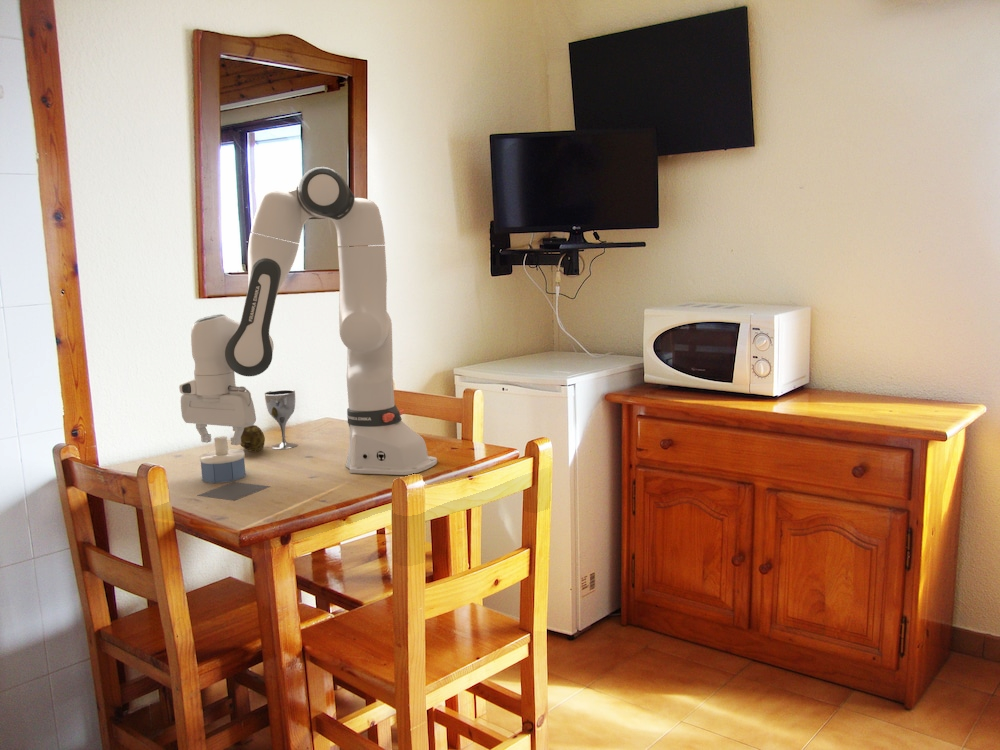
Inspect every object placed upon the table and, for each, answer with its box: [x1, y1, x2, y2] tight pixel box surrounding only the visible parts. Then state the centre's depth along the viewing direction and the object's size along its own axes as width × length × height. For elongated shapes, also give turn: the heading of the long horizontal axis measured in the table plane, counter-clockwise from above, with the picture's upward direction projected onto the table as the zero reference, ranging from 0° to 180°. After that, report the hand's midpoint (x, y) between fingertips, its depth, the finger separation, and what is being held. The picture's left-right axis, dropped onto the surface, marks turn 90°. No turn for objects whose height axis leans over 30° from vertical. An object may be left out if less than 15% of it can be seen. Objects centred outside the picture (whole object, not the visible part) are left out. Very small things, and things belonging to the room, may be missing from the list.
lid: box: [199, 435, 246, 464], centre depth 195 cm, size 10×10×5 cm
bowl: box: [200, 457, 247, 484], centre depth 196 cm, size 10×10×5 cm
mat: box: [197, 481, 271, 502], centre depth 184 cm, size 11×11×1 cm
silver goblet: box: [264, 389, 299, 450], centre depth 227 cm, size 8×8×15 cm
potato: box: [240, 424, 266, 452], centre depth 222 cm, size 8×13×8 cm, turn 2°
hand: (221, 443), depth 195 cm, fingers open, 8 cm apart
